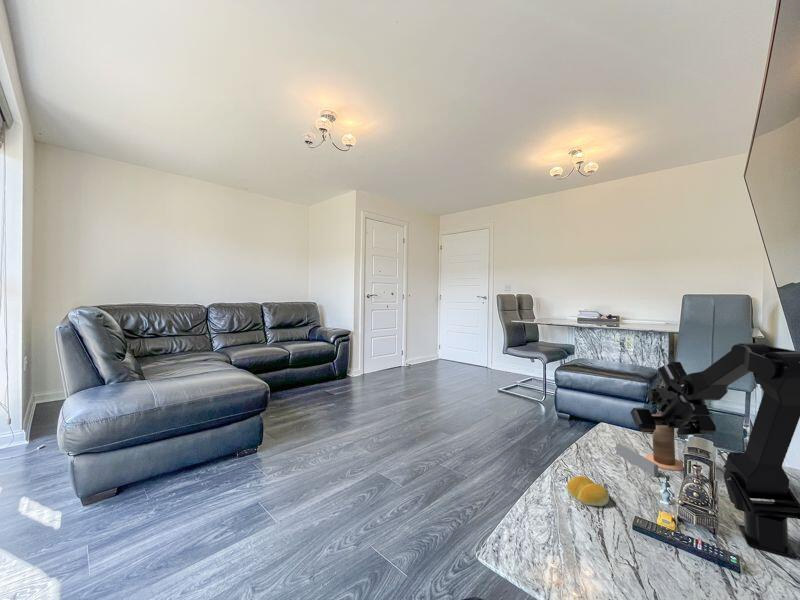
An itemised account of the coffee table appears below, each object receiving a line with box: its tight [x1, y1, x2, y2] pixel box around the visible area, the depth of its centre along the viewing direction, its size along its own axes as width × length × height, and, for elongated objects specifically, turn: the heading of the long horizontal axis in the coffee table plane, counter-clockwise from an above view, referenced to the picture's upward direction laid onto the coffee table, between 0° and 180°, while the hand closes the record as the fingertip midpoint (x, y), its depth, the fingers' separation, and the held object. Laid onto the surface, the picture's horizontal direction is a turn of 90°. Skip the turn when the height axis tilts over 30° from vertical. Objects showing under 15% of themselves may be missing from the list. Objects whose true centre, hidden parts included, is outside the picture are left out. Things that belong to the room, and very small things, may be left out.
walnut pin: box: [651, 413, 676, 466], centre depth 96 cm, size 5×5×13 cm
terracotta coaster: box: [644, 453, 684, 472], centre depth 96 cm, size 9×9×1 cm
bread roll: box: [566, 475, 610, 507], centre depth 81 cm, size 8×9×4 cm
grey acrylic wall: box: [615, 443, 659, 478], centre depth 96 cm, size 14×1×3 cm, turn 4°
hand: (660, 433), depth 98 cm, fingers open, 9 cm apart
